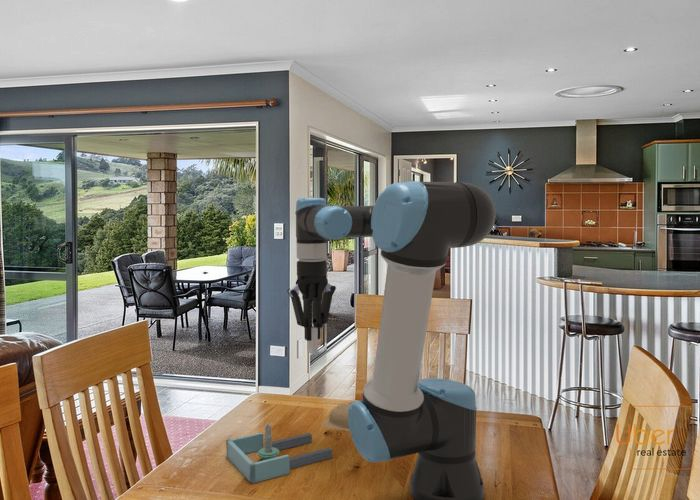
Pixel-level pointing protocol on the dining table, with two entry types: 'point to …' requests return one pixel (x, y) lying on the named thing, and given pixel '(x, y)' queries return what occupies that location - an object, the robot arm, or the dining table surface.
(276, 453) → the screw
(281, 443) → the slot
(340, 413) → the mask
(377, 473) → the dining table surface
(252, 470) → the bracket
